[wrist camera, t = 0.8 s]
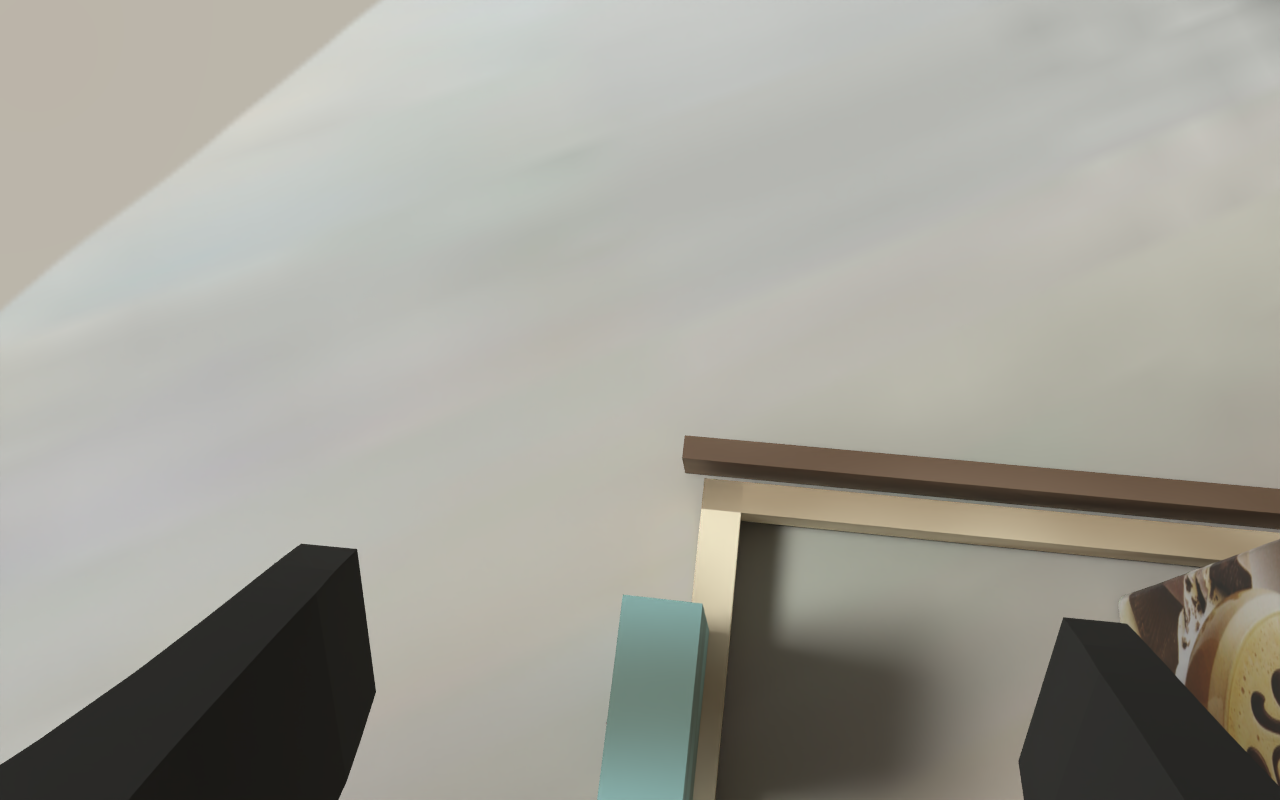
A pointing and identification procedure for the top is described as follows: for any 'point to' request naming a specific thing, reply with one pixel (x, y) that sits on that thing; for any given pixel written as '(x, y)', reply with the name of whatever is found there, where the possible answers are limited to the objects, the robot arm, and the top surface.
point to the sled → (700, 630)
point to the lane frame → (985, 481)
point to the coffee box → (1222, 643)
